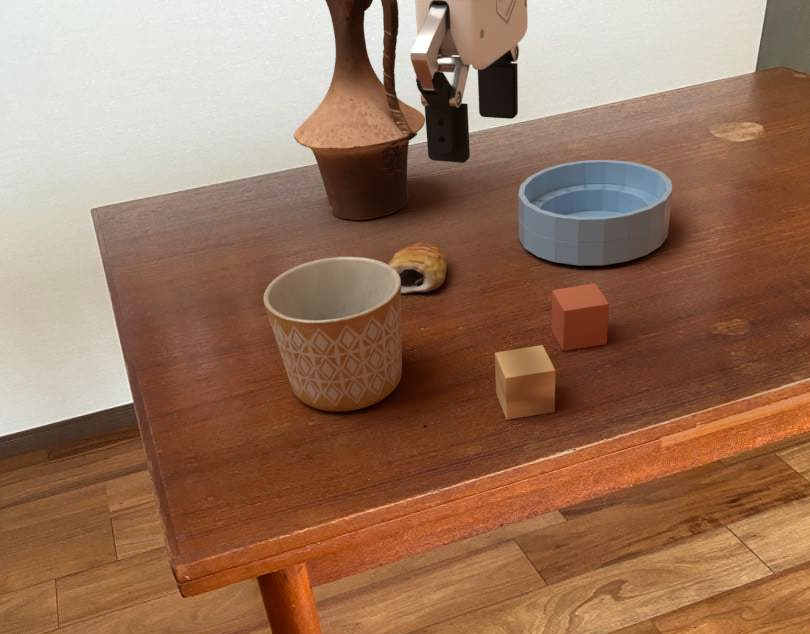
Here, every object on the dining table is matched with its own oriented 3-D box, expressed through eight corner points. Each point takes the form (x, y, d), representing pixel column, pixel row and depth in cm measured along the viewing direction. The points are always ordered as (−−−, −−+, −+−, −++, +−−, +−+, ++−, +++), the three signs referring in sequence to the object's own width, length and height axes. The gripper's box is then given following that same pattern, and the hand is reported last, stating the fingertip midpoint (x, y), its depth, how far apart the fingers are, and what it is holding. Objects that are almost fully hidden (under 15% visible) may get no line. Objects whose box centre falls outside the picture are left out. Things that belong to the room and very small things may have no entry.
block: (542, 386, 84) (542, 344, 81) (554, 412, 81) (555, 370, 78) (495, 393, 84) (494, 352, 81) (506, 420, 81) (505, 378, 78)
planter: (277, 365, 92) (256, 271, 85) (395, 341, 93) (384, 246, 86) (293, 432, 83) (271, 333, 76) (424, 404, 84) (414, 304, 77)
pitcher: (458, 194, 121) (445, -49, 102) (378, 242, 112) (347, -14, 93) (362, 173, 130) (334, -53, 111) (281, 216, 121) (234, -22, 102)
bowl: (638, 199, 113) (642, 151, 109) (689, 256, 101) (695, 204, 97) (505, 219, 113) (504, 172, 109) (539, 280, 100) (539, 228, 96)
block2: (593, 323, 92) (595, 282, 89) (606, 344, 89) (609, 303, 86) (551, 329, 92) (551, 289, 89) (562, 351, 88) (563, 310, 85)
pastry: (401, 258, 107) (398, 228, 105) (455, 259, 106) (454, 228, 103) (383, 295, 101) (379, 264, 98) (441, 297, 99) (439, 265, 97)
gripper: (463, -114, 51) (475, 183, 63) (563, -156, 62) (557, 104, 74) (350, -109, 54) (382, 175, 66) (465, -150, 65) (474, 99, 76)
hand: (474, 137), depth 70 cm, fingers open, 9 cm apart
